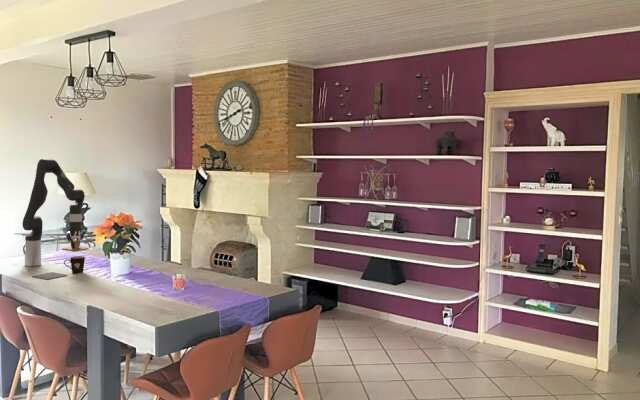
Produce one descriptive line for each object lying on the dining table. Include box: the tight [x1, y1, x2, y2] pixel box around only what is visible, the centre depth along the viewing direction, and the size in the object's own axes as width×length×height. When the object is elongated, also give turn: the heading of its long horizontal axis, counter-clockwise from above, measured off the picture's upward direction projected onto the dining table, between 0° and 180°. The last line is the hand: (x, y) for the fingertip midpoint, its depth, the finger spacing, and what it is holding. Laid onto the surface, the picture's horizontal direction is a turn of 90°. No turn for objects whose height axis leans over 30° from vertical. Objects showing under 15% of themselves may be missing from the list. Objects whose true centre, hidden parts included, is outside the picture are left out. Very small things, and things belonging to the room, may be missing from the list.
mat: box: [31, 271, 68, 281], centre depth 328 cm, size 14×14×1 cm
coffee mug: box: [63, 255, 86, 275], centre depth 341 cm, size 12×9×10 cm
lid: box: [61, 239, 89, 253], centre depth 340 cm, size 11×11×6 cm
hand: (75, 247), depth 340 cm, fingers closed on lid, 3 cm apart
